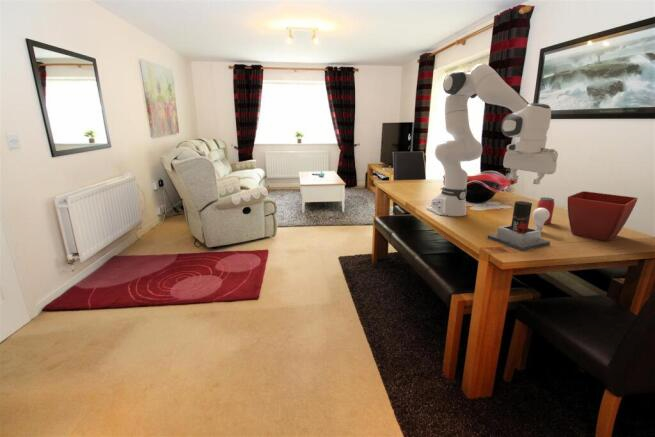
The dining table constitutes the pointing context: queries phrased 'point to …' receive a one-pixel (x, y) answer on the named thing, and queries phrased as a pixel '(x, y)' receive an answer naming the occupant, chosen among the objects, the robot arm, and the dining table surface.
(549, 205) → the beer can
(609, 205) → the plant pot
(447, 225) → the dining table surface
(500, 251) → the dining table surface
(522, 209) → the deodorant
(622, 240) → the dining table surface
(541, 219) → the lightbulb
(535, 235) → the collar holder
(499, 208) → the dining table surface
